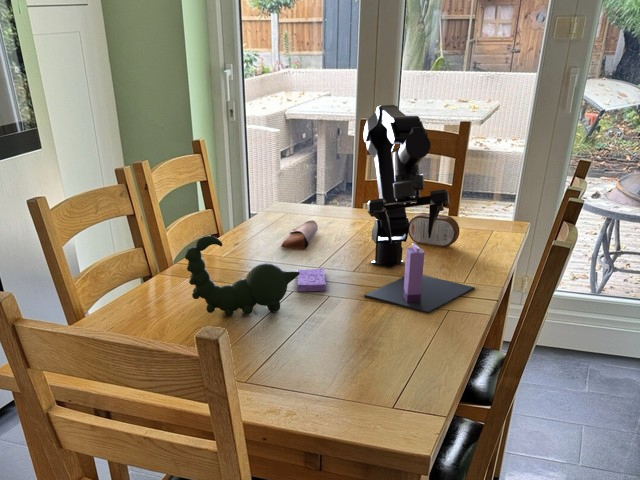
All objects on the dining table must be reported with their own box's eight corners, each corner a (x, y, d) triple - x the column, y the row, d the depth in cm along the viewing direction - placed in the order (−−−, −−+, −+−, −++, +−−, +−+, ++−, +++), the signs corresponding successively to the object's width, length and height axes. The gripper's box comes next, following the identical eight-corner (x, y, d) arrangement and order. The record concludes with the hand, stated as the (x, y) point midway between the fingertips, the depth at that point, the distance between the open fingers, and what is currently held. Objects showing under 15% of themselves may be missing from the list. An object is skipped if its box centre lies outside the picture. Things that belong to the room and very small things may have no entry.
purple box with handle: (402, 295, 172) (406, 243, 165) (416, 295, 172) (420, 242, 165) (407, 302, 168) (411, 249, 161) (420, 302, 168) (425, 248, 161)
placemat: (364, 296, 173) (364, 294, 173) (412, 274, 186) (413, 272, 186) (428, 313, 163) (428, 311, 163) (474, 289, 176) (475, 287, 176)
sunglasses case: (290, 230, 222) (301, 211, 218) (310, 242, 223) (321, 224, 219) (279, 247, 207) (290, 227, 203) (300, 260, 208) (311, 240, 204)
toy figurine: (196, 328, 164) (304, 315, 163) (180, 245, 153) (296, 230, 152) (198, 313, 171) (302, 300, 170) (183, 233, 161) (294, 219, 160)
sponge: (297, 291, 177) (297, 284, 176) (297, 275, 188) (297, 268, 187) (325, 291, 177) (326, 284, 176) (324, 274, 187) (324, 267, 186)
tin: (458, 247, 205) (461, 216, 200) (454, 249, 203) (457, 219, 198) (409, 240, 212) (411, 210, 207) (405, 242, 210) (407, 213, 205)
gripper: (361, 169, 164) (365, 239, 166) (444, 156, 158) (447, 228, 160) (369, 182, 175) (373, 247, 176) (448, 170, 169) (450, 238, 171)
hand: (409, 240), depth 171 cm, fingers open, 9 cm apart
